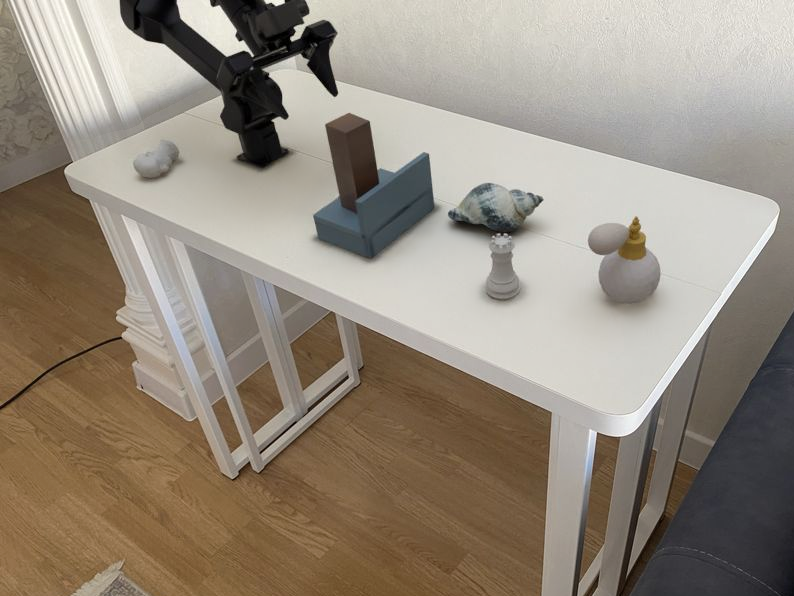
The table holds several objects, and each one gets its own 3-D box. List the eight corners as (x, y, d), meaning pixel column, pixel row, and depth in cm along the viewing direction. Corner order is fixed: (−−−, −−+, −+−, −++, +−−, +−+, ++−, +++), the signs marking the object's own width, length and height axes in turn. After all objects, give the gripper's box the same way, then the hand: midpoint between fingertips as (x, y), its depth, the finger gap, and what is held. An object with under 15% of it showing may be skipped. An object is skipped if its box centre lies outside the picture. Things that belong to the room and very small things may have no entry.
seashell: (472, 215, 110) (539, 238, 104) (442, 218, 104) (512, 243, 98) (480, 173, 107) (549, 194, 101) (450, 174, 101) (522, 197, 96)
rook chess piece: (483, 281, 95) (481, 230, 90) (517, 278, 95) (517, 227, 90) (487, 302, 92) (485, 251, 86) (522, 299, 92) (522, 247, 87)
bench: (318, 238, 105) (305, 183, 98) (383, 190, 113) (375, 137, 107) (370, 259, 100) (360, 203, 94) (434, 207, 109) (429, 153, 103)
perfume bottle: (667, 290, 92) (681, 209, 84) (630, 332, 86) (641, 250, 78) (614, 270, 95) (623, 190, 87) (576, 310, 90) (581, 229, 82)
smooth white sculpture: (152, 189, 120) (130, 174, 121) (190, 167, 124) (168, 152, 125) (148, 169, 116) (125, 153, 118) (186, 147, 121) (165, 132, 122)
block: (341, 206, 103) (324, 124, 95) (363, 193, 105) (349, 112, 97) (360, 216, 101) (345, 133, 92) (382, 203, 103) (369, 120, 95)
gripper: (202, -4, 92) (274, 101, 94) (316, -41, 102) (380, 55, 103) (189, 46, 101) (255, 140, 103) (294, 7, 111) (353, 94, 113)
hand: (312, 106), depth 105 cm, fingers open, 9 cm apart
